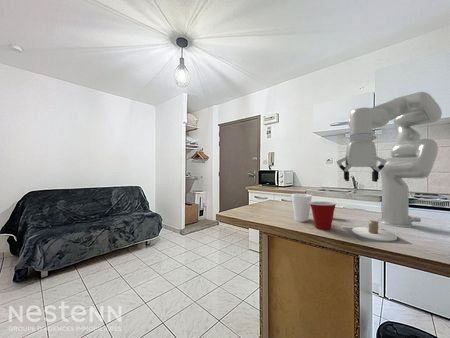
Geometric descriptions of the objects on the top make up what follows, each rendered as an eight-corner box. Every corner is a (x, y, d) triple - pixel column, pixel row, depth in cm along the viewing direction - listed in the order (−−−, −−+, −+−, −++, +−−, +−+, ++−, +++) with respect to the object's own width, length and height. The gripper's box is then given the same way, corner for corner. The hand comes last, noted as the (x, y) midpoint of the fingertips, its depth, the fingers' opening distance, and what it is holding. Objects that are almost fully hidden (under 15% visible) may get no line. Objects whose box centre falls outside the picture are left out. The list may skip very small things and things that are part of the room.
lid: (381, 229, 82) (382, 217, 82) (406, 242, 69) (407, 227, 69) (346, 228, 85) (346, 216, 85) (363, 240, 71) (363, 225, 71)
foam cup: (314, 223, 94) (314, 196, 94) (295, 223, 95) (295, 196, 94) (306, 217, 104) (306, 193, 104) (289, 217, 104) (289, 193, 104)
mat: (383, 230, 83) (383, 229, 83) (412, 245, 67) (412, 243, 67) (342, 228, 86) (342, 227, 86) (361, 242, 70) (361, 241, 70)
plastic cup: (322, 224, 92) (322, 199, 92) (342, 231, 82) (342, 203, 82) (303, 226, 89) (303, 200, 89) (322, 234, 79) (322, 205, 78)
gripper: (382, 139, 80) (381, 180, 80) (334, 141, 85) (334, 180, 86) (391, 137, 73) (390, 182, 73) (339, 139, 78) (338, 181, 79)
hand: (360, 181), depth 79 cm, fingers open, 9 cm apart
